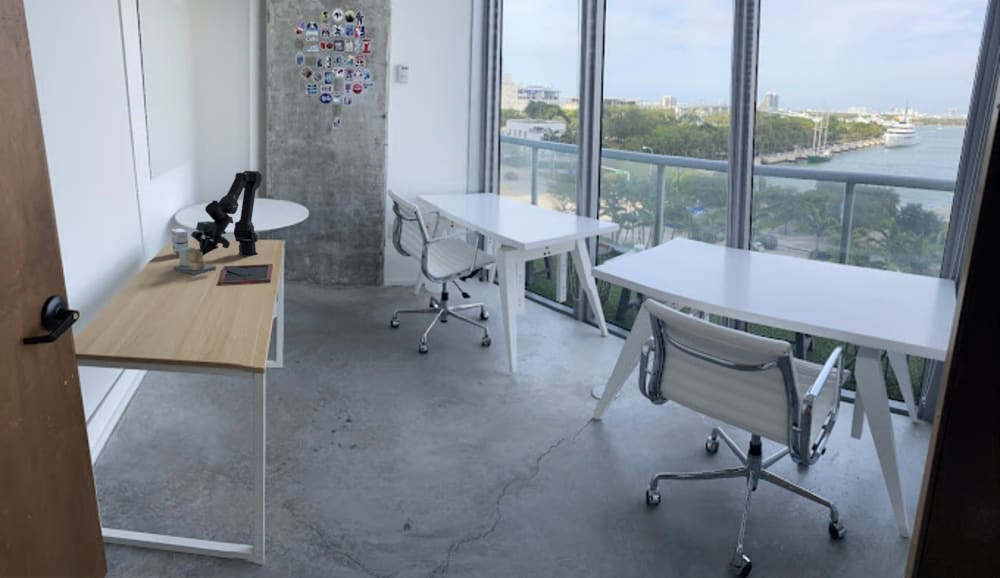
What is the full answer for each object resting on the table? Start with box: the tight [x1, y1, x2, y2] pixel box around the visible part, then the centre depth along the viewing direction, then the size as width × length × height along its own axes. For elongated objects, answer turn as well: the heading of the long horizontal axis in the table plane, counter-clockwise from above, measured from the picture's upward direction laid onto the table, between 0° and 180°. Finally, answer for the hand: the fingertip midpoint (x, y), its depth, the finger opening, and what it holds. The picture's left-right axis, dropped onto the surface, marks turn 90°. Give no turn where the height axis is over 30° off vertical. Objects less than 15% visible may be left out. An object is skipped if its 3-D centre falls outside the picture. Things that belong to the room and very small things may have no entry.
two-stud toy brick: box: [178, 246, 196, 266], centre depth 316 cm, size 4×4×7 cm
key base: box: [172, 263, 217, 276], centre depth 315 cm, size 10×14×2 cm
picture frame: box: [218, 263, 274, 286], centre depth 309 cm, size 20×2×25 cm
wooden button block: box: [186, 250, 205, 270], centre depth 310 cm, size 4×4×7 cm
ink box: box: [170, 228, 189, 258], centre depth 337 cm, size 8×5×12 cm, turn 39°
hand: (200, 255), depth 312 cm, fingers closed, pressing on wooden button block
